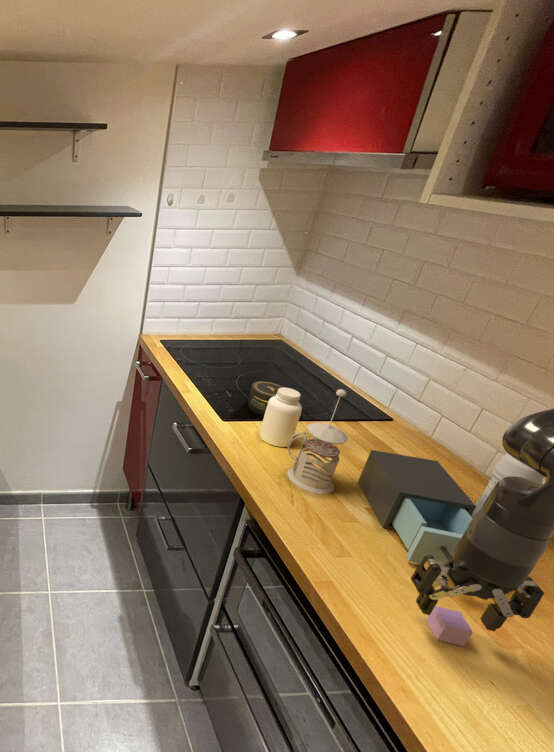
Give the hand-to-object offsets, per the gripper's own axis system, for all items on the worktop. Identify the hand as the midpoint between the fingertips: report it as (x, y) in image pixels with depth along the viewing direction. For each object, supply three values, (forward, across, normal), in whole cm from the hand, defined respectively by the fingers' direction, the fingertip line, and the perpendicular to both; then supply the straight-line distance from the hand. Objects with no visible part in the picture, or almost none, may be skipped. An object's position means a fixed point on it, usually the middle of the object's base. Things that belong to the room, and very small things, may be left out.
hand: (454, 617), depth 72 cm
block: (+4, 0, 0) cm, 4 cm away
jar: (+4, -16, +68) cm, 70 cm away
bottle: (+4, +22, +32) cm, 39 cm away
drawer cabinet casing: (+4, +6, +31) cm, 32 cm away
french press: (+4, -12, +36) cm, 38 cm away
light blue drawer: (+3, +6, +19) cm, 20 cm away
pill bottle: (+4, -16, +52) cm, 55 cm away
